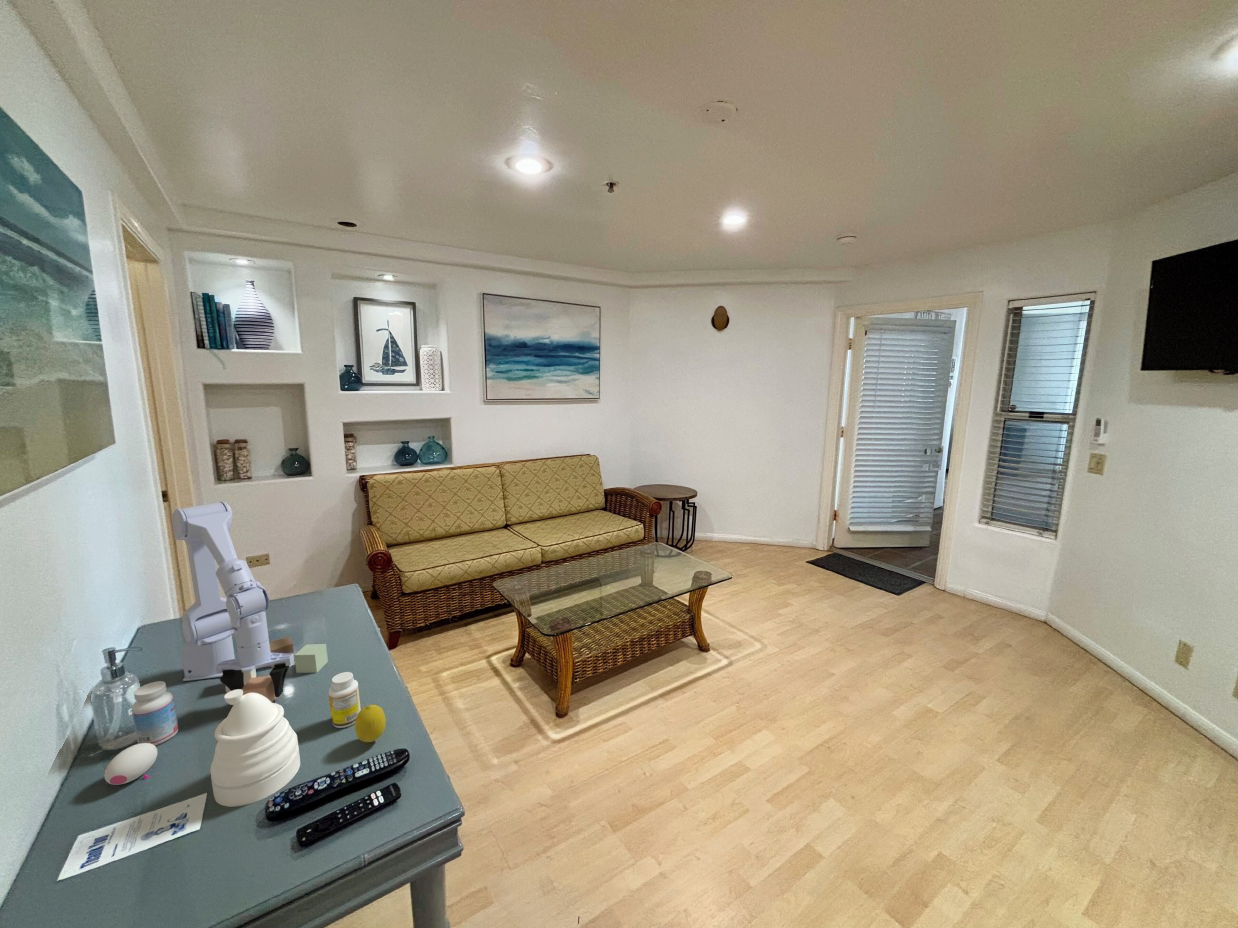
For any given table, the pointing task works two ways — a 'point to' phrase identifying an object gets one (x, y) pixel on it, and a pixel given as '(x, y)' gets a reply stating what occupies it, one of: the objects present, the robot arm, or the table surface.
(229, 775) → the honey pot
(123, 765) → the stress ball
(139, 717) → the pill bottle
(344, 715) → the supplement bottle
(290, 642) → the walnut block
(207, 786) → the table surface
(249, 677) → the cream block
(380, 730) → the lemon
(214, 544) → the robot arm
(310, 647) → the sage block
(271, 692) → the terracotta block
